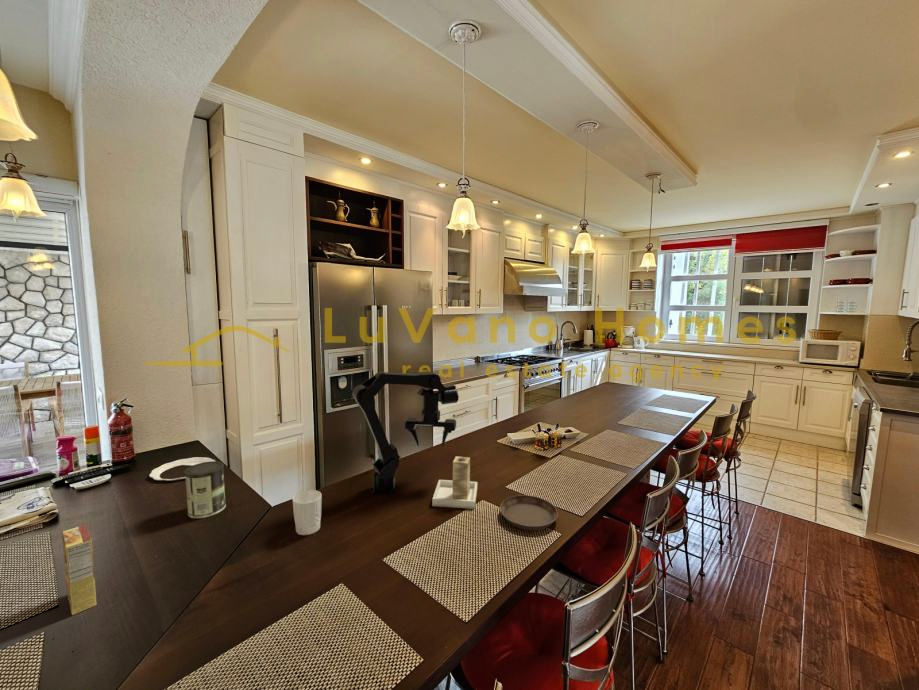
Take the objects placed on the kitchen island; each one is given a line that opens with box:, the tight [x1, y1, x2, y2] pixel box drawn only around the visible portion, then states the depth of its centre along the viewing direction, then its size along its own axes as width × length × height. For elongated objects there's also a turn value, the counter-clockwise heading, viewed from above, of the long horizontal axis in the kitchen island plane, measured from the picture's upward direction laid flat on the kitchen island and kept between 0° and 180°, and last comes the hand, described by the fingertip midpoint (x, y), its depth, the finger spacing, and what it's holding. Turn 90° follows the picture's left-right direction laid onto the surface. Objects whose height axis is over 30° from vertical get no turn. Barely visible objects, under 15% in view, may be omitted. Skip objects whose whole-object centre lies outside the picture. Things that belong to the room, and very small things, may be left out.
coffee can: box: [184, 460, 227, 519], centre depth 123 cm, size 10×10×14 cm
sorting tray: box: [431, 479, 478, 510], centre depth 133 cm, size 14×14×2 cm
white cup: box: [292, 489, 322, 536], centre depth 113 cm, size 8×8×10 cm
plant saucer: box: [499, 494, 559, 532], centre depth 121 cm, size 18×18×3 cm
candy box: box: [61, 524, 97, 616], centre depth 85 cm, size 9×4×15 cm, turn 50°
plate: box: [148, 456, 216, 482], centre depth 151 cm, size 21×21×2 cm
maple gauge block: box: [452, 455, 471, 500], centre depth 132 cm, size 5×5×13 cm
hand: (430, 446), depth 145 cm, fingers open, 9 cm apart
